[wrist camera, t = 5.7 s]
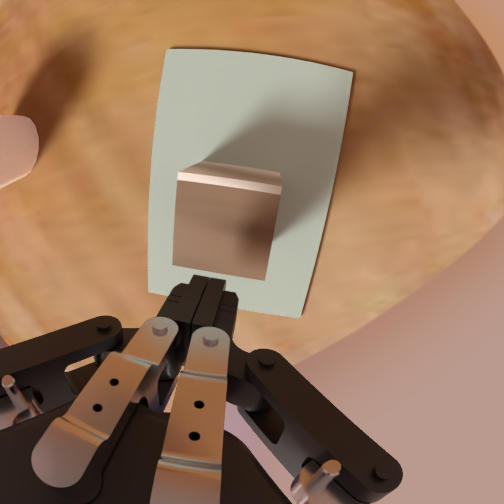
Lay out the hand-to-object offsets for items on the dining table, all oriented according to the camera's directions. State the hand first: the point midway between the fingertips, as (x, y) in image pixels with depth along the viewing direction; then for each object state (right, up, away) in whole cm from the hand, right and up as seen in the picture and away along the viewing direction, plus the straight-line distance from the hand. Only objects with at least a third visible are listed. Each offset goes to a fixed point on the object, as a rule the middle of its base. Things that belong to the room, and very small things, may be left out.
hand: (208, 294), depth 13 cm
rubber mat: (+1, +6, +6) cm, 8 cm away
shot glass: (-18, +11, +5) cm, 22 cm away
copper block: (0, +2, +4) cm, 5 cm away
